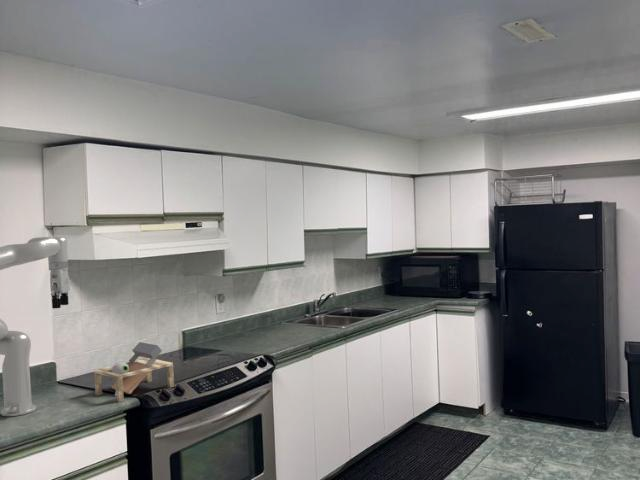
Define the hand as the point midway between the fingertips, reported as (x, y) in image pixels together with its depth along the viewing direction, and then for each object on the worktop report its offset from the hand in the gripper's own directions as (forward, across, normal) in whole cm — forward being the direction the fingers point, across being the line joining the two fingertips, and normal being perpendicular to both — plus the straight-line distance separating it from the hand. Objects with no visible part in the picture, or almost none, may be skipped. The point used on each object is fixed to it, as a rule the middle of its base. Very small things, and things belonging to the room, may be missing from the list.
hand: (60, 306), depth 249 cm
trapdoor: (+30, +3, -30) cm, 43 cm away
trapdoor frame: (+38, +2, -29) cm, 48 cm away
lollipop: (+38, -6, -22) cm, 45 cm away
